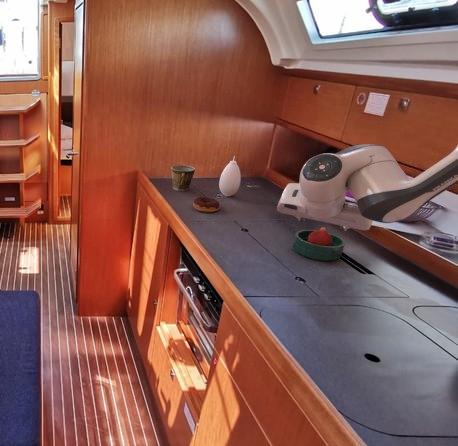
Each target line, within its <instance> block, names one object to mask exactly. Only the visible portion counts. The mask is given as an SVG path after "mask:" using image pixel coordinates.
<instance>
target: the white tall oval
mask: <svg viewBox="0 0 458 446" xmlns="http://www.w3.org/2000/svg"><path fill="white" fill-rule="evenodd" d="M235 157H236V156H235V155H233V159H232V160H230V161H229V163H227V165H226V166H225V167H224V168H223V171H222V173H220V174H221V175H220V178H219V181H218V186H219V187H218V188H219V191H220V193H221V194H222V195H223V196H224V197H231V196H233V195H236V193H237V192H238V191H239V189H240V186H241V181H242V175H241V170H240V167H239V165H238V164H237V163H238V162H237V161H236V160H235V159H236V158H235Z"/></svg>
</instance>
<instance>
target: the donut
mask: <svg viewBox="0 0 458 446" xmlns="http://www.w3.org/2000/svg"><path fill="white" fill-rule="evenodd" d="M220 206H221V205H220V202H219V201H218V200H217V199H215V198H212V197H207V196H197V197H196V198H195V199H194V200H193V203H192V207H193V208H194V209H195V210H196V211H198V212H200V213H215V212H217V211H219V210H220Z"/></svg>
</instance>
